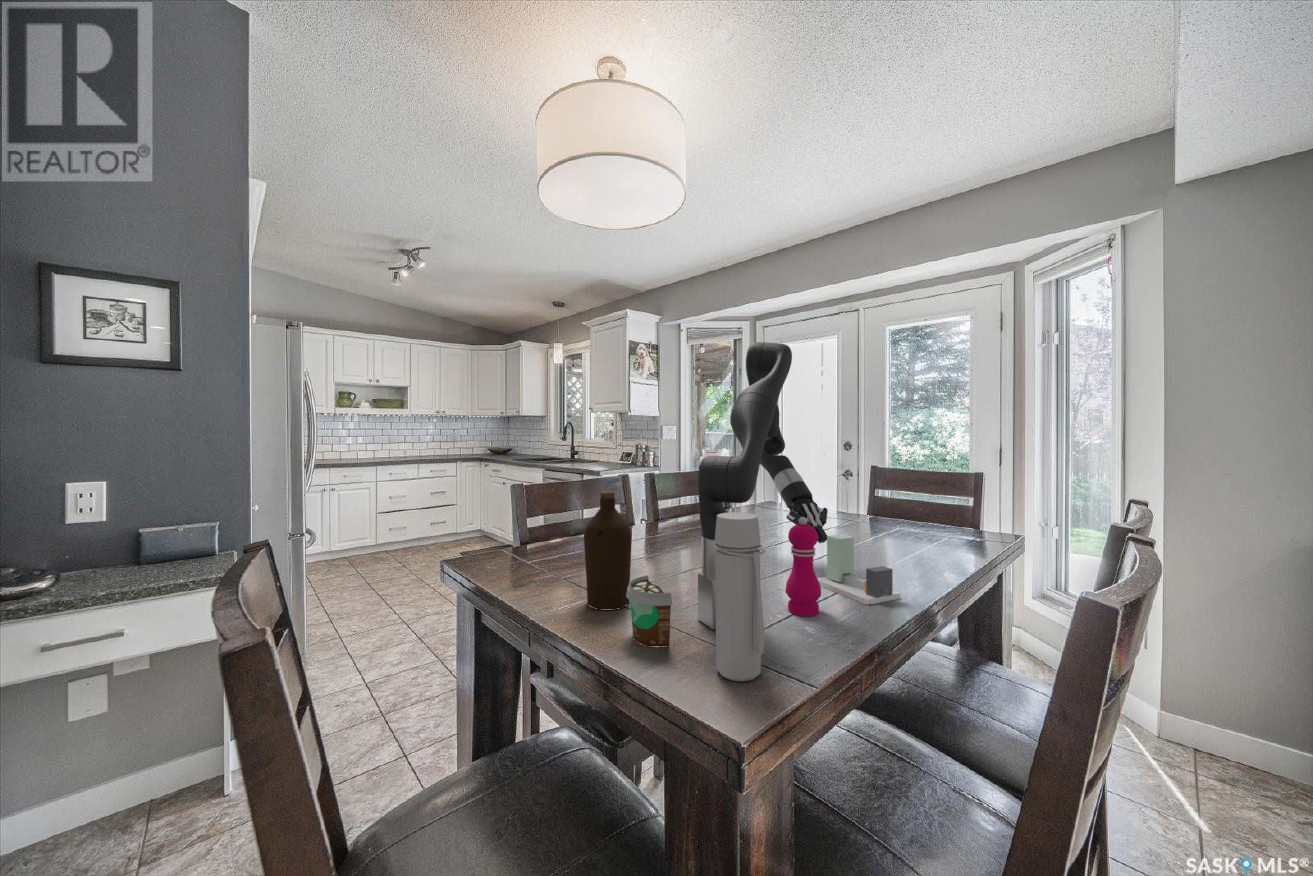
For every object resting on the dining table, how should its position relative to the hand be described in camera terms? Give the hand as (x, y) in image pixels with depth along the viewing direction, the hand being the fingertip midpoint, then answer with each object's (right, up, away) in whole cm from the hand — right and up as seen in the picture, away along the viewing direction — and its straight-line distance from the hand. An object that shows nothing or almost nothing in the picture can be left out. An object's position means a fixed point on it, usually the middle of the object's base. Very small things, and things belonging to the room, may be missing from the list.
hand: (823, 541), depth 128 cm
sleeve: (+2, -8, -5) cm, 10 cm away
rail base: (+4, -10, -9) cm, 14 cm away
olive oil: (-54, -11, -16) cm, 57 cm away
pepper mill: (-12, -10, -22) cm, 27 cm away
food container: (-45, -11, -36) cm, 59 cm away
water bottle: (-29, -11, -50) cm, 59 cm away
